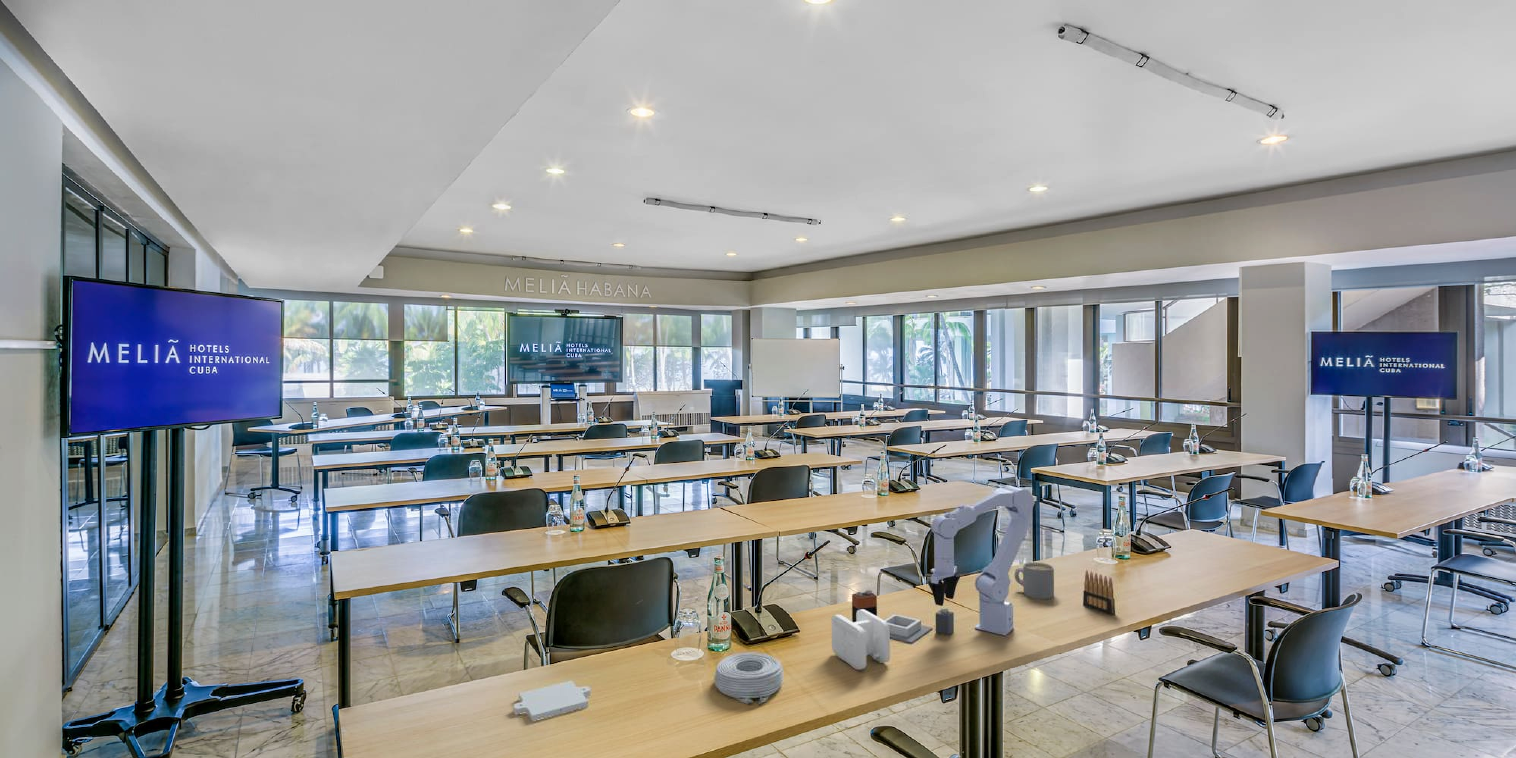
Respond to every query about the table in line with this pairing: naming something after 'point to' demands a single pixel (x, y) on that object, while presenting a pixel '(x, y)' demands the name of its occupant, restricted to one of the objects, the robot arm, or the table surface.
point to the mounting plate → (552, 700)
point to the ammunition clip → (1098, 594)
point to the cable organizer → (861, 639)
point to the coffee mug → (1037, 580)
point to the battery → (864, 603)
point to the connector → (944, 622)
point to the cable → (749, 676)
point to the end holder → (906, 628)
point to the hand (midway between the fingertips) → (944, 601)
